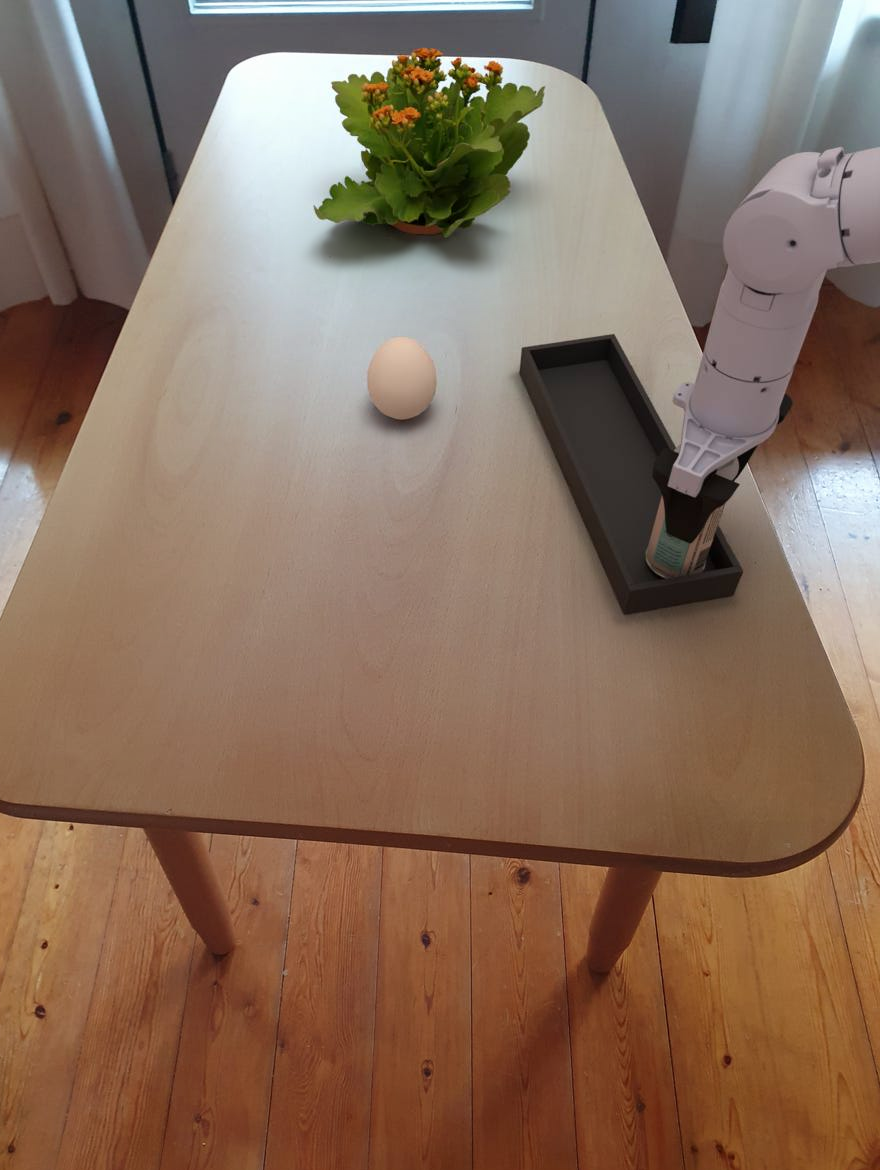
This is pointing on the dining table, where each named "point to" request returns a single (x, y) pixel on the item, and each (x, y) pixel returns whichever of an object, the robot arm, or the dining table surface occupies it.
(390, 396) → the egg
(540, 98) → the potted flower
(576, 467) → the baking pan
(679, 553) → the beer can
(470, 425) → the dining table surface
